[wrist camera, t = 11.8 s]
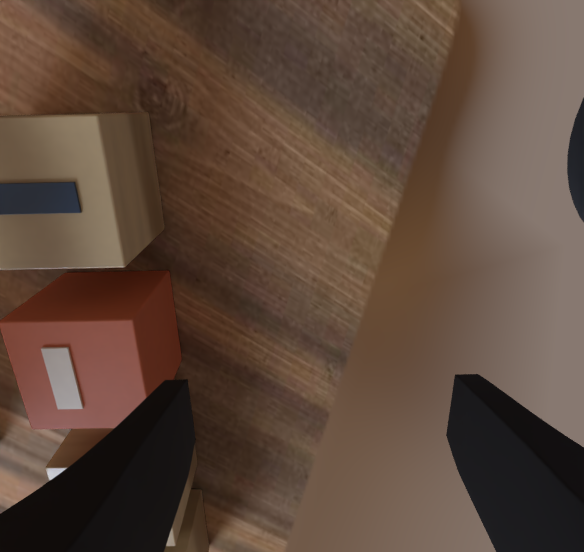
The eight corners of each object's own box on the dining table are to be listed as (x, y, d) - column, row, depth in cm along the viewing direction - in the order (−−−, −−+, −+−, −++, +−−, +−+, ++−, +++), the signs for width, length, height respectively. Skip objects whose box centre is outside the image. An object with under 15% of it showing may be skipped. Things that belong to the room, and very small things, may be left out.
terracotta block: (182, 360, 22) (152, 429, 17) (86, 361, 22) (29, 431, 17) (169, 269, 20) (131, 320, 15) (64, 271, 20) (-6, 323, 15)
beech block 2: (188, 392, 23) (160, 467, 18) (198, 463, 25) (175, 548, 20) (95, 393, 23) (43, 469, 18) (111, 464, 25) (69, 550, 20)
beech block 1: (149, 111, 17) (96, 114, 13) (165, 229, 19) (124, 269, 15) (28, 114, 18) (-70, 118, 13) (56, 231, 19) (-20, 272, 15)
